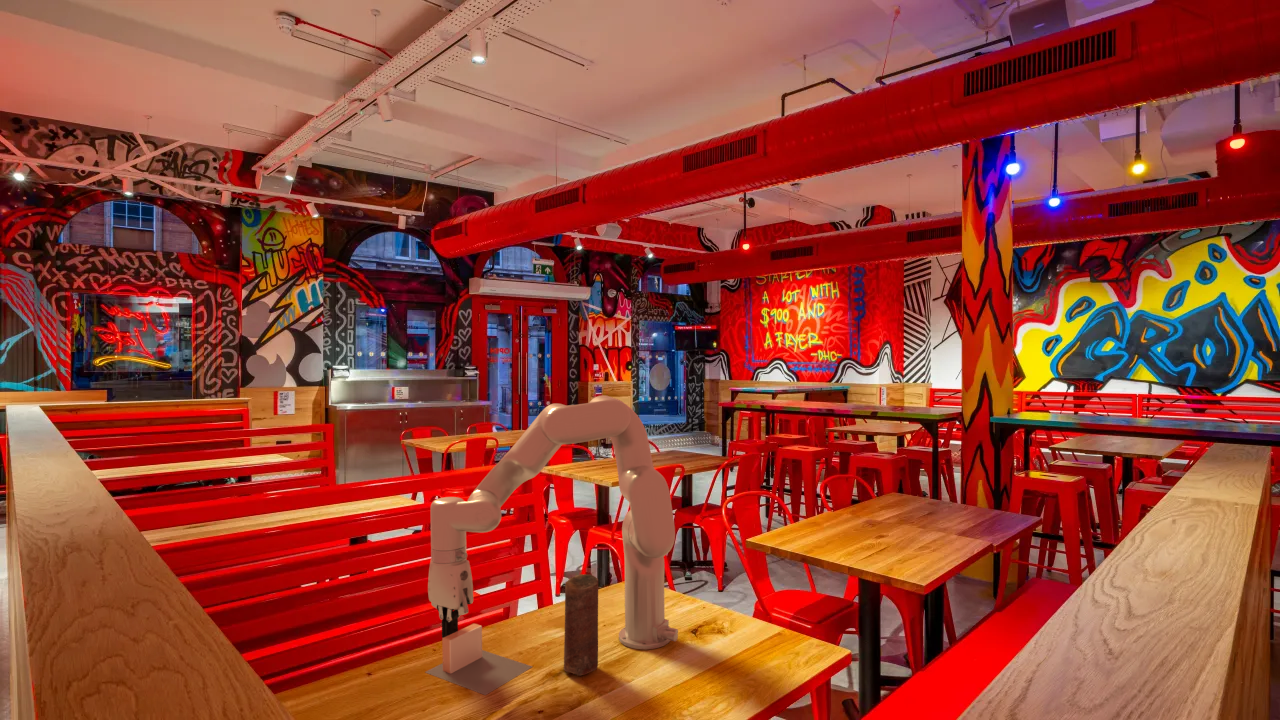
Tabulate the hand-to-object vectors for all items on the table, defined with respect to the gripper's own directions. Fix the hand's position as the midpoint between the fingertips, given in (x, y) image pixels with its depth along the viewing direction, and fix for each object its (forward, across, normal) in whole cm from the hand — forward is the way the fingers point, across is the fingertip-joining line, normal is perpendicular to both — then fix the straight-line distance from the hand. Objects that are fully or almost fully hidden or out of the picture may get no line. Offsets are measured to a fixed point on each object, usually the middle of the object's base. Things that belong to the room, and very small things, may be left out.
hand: (450, 636), depth 148 cm
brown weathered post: (+6, -27, -13) cm, 30 cm away
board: (+6, -9, 0) cm, 11 cm away
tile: (+5, -4, 0) cm, 7 cm away
